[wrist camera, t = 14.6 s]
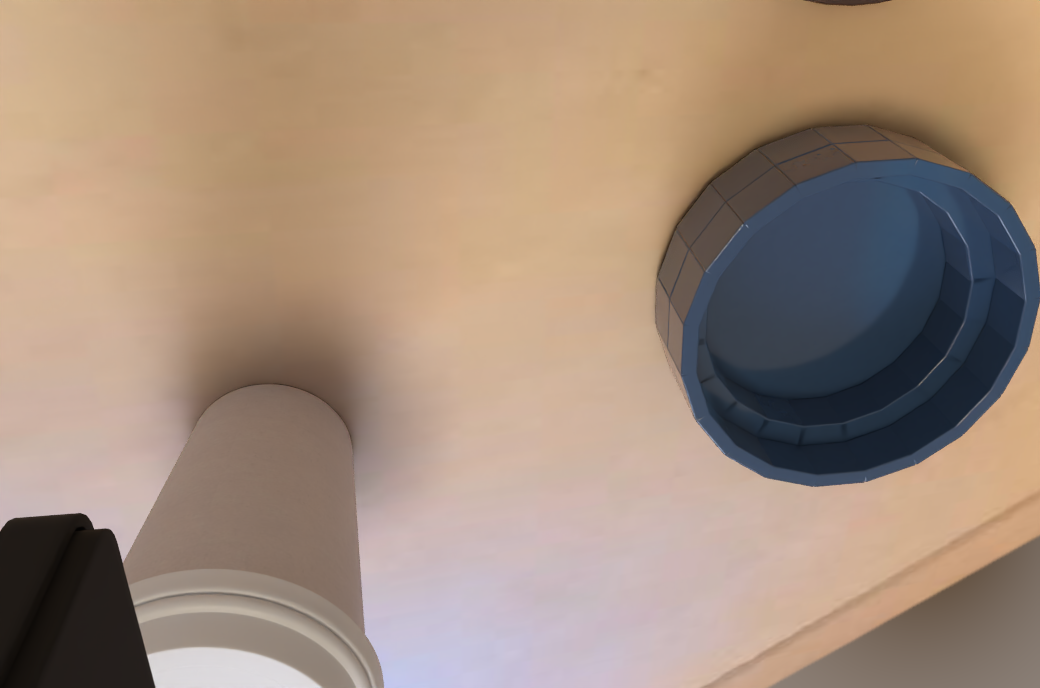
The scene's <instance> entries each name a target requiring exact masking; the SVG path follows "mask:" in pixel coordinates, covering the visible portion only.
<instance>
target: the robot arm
mask: <svg viewBox="0 0 1040 688" xmlns="http://www.w3.org/2000/svg"><path fill="white" fill-rule="evenodd" d="M0 688H156V687H155V684H154V680H153V676H152V672H151V668H150V665H149V661H148V657H147V653H146V650H145V646H144V642H143V638H142V634H141V631H140V627H139V623H138V619H137V616H136V612H135V608H134V604H133V600H132V597H131V593H130V589H129V585H128V582H127V578H126V574H125V570H124V566H123V563H122V559H121V555H120V551H119V547H118V544H117V541H116V538H115V535H114V534H113V532H112V531H111V530H110V529H95V530H94V528H93V525H92V522H91V521H90V520H89V518H88V517H87V516H86V515H84V514H81V513H77V514H63V515H50V516H37V517H24V518H14V519H12V520H10V521H8V522H7V523H6V524H5V526H4V527H3V528H2V529H1V531H0Z"/></svg>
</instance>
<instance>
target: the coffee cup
mask: <svg viewBox="0 0 1040 688" xmlns="http://www.w3.org/2000/svg"><path fill="white" fill-rule="evenodd" d="M123 566H124V570H125V574H126V578H127V582H128V585H129V589H130V593H131V597H132V600H133V604H134V608H135V612H136V616H137V619H138V623H139V627H140V631H141V634H142V638H143V642H144V646H145V650H146V653H147V657H148V661H149V665H150V668H151V672H152V676H153V680H154V684H155V687H156V688H384V682H383V675H382V670H381V666H380V663H379V660H378V657H377V655H376V652H375V650H374V648H373V647H372V645H371V643H370V641H369V640H368V638H367V637H366V635H365V628H364V615H363V601H362V587H361V572H360V557H359V542H358V527H357V511H356V495H355V480H354V464H353V450H352V443H351V438H350V435H349V432H348V430H347V428H346V426H345V424H344V422H343V421H342V419H341V418H340V417H339V415H338V414H337V413H336V412H335V411H334V410H333V409H332V408H331V407H330V406H329V405H328V404H326V403H325V402H324V401H322V400H321V399H319V398H318V397H316V396H314V395H312V394H310V393H308V392H306V391H303V390H300V389H297V388H294V387H290V386H285V385H277V384H260V385H252V386H247V387H243V388H240V389H237V390H234V391H232V392H230V393H228V394H226V395H224V396H222V397H221V398H219V399H218V400H216V401H215V402H214V403H213V404H211V405H210V406H209V407H208V408H207V409H206V411H205V412H204V413H203V414H202V416H201V417H200V419H199V420H198V422H197V424H196V426H195V428H194V430H193V432H192V433H191V435H190V437H189V439H188V441H187V443H186V445H185V447H184V449H183V451H182V452H181V454H180V456H179V458H178V460H177V462H176V464H175V466H174V468H173V470H172V471H171V473H170V475H169V477H168V479H167V481H166V483H165V485H164V487H163V489H162V490H161V492H160V494H159V496H158V498H157V500H156V502H155V504H154V506H153V508H152V509H151V511H150V513H149V515H148V517H147V519H146V521H145V523H144V525H143V526H142V528H141V530H140V532H139V534H138V536H137V538H136V540H135V542H134V543H133V545H132V547H131V549H130V551H129V553H128V555H127V557H126V558H125V560H124V562H123Z"/></svg>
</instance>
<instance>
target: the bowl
mask: <svg viewBox="0 0 1040 688" xmlns="http://www.w3.org/2000/svg"><path fill="white" fill-rule="evenodd" d="M676 228H677V229H676V230H675V232H674V235H673V238H672V240H671V243H670V246H669V248H668V251H667V254H666V256H665V259H664V261H663V264H662V267H661V269H660V272H659V275H658V278H657V299H656V325H657V326H656V327H657V330H658V333H659V336H660V339H661V342H662V345H663V348H664V351H665V354H666V357H667V360H668V363H669V366H670V368H671V370H672V372H673V375H674V377H675V379H676V381H677V383H678V385H679V387H680V389H681V391H682V393H683V395H684V398H685V400H686V402H687V404H688V406H689V408H690V410H691V412H692V414H693V416H694V418H695V420H696V422H697V423H698V424H699V425H700V426H701V428H702V429H703V430H704V431H705V432H706V434H707V435H708V436H709V437H710V438H711V439H712V441H713V442H714V443H715V444H716V445H717V447H718V448H719V449H720V450H721V451H722V453H723V454H725V455H726V456H727V457H729V458H731V459H732V460H734V461H736V462H738V463H740V464H741V465H743V466H745V467H747V468H749V469H750V470H752V471H754V472H756V473H758V474H759V475H761V476H763V477H765V478H769V479H774V480H780V481H785V482H790V483H796V484H801V485H806V486H811V487H813V486H814V487H819V486H830V485H841V484H853V483H864V482H868V481H871V480H873V479H876V478H879V477H882V476H885V475H888V474H891V473H894V472H896V471H899V470H902V469H905V468H908V467H911V466H914V465H915V464H919V463H920V462H922V461H923V460H925V459H926V458H928V457H930V456H931V455H933V454H934V453H936V452H937V451H939V450H941V449H942V448H944V447H945V446H947V445H948V444H950V443H952V442H953V441H955V440H956V439H958V438H959V437H961V436H962V435H963V434H965V433H966V432H967V431H968V429H969V428H970V427H971V426H972V425H973V424H974V423H975V422H976V421H977V420H978V419H979V418H980V417H981V416H982V415H983V414H984V413H985V412H986V411H987V410H988V409H989V408H990V407H991V406H992V405H993V404H994V403H995V402H996V401H997V400H998V399H999V398H1000V397H1001V394H1003V392H1004V391H1005V389H1006V387H1007V385H1008V384H1009V382H1010V380H1011V378H1012V377H1013V375H1014V373H1015V371H1016V370H1017V368H1018V366H1019V364H1020V363H1021V361H1022V359H1023V357H1024V356H1025V354H1026V352H1027V350H1028V347H1029V345H1030V341H1031V337H1032V333H1033V328H1034V324H1035V320H1036V316H1037V311H1038V307H1039V303H1040V284H1039V274H1038V265H1037V256H1036V248H1035V246H1034V244H1033V242H1032V240H1031V238H1030V237H1029V235H1028V233H1027V231H1026V229H1025V227H1024V226H1023V224H1022V222H1021V220H1020V218H1019V217H1018V215H1017V213H1016V211H1015V209H1014V208H1013V206H1012V205H1011V204H1010V202H1009V201H1007V200H1006V199H1005V198H1003V197H1002V196H1001V195H999V194H998V193H997V192H995V191H994V190H993V189H992V188H990V187H989V186H988V185H986V184H985V183H984V182H982V181H981V180H980V179H979V178H977V177H976V176H975V175H973V174H972V173H970V172H969V171H967V170H966V169H964V168H962V167H961V166H959V165H958V164H956V163H954V162H953V161H951V160H950V159H948V158H947V157H945V156H943V155H942V154H940V153H938V152H937V151H935V150H934V149H932V148H931V147H929V146H927V145H926V144H924V143H923V142H921V141H919V140H917V139H916V138H914V137H910V136H907V135H903V134H899V133H896V132H892V131H889V130H885V129H882V128H878V127H875V126H871V125H851V126H835V127H819V128H812V129H807V130H804V131H802V132H799V133H796V134H794V135H791V136H788V137H786V138H783V139H780V140H778V141H775V142H772V143H770V144H767V145H765V146H762V147H759V148H758V149H755V150H754V151H753V152H751V153H750V154H749V155H747V156H746V157H744V158H743V159H742V160H740V161H739V162H738V163H736V164H735V165H734V166H732V167H731V168H730V169H728V170H727V171H726V172H724V173H723V174H722V175H720V176H719V177H718V178H716V179H715V180H714V181H712V182H711V184H709V185H708V186H707V188H706V189H705V190H704V192H703V193H702V194H701V195H700V197H699V198H698V199H697V201H696V202H695V203H694V205H693V206H692V207H691V209H690V210H689V211H688V212H687V214H686V215H685V216H684V218H683V219H682V220H681V222H680V223H679V224H678V225H677V227H676Z"/></svg>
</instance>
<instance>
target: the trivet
mask: <svg viewBox="0 0 1040 688" xmlns="http://www.w3.org/2000/svg"><path fill="white" fill-rule="evenodd" d="M805 1H811V2H816V3H821V4H826V5H846V6H855V5H865V4H876V3H881V2H886V1H890V0H805Z"/></svg>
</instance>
